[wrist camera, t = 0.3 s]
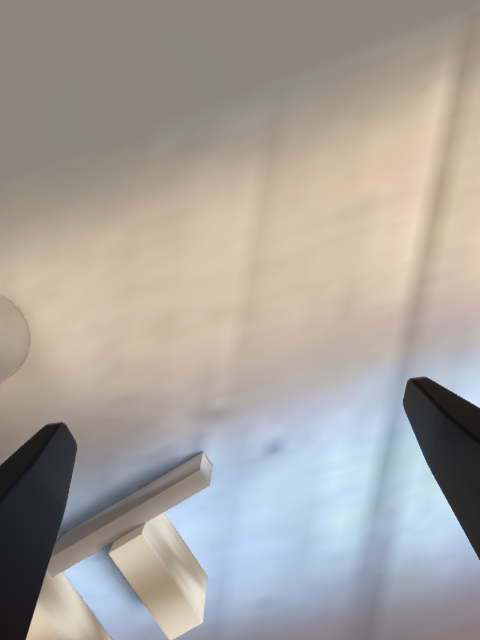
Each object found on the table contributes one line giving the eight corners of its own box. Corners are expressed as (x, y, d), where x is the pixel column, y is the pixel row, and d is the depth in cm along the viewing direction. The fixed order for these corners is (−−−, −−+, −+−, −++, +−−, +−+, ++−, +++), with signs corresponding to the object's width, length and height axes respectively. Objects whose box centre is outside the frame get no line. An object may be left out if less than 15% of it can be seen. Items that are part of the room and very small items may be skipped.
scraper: (263, 542, 24) (268, 585, 21) (125, 622, 25) (106, 677, 21) (203, 450, 23) (197, 478, 20) (61, 534, 24) (32, 576, 20)
